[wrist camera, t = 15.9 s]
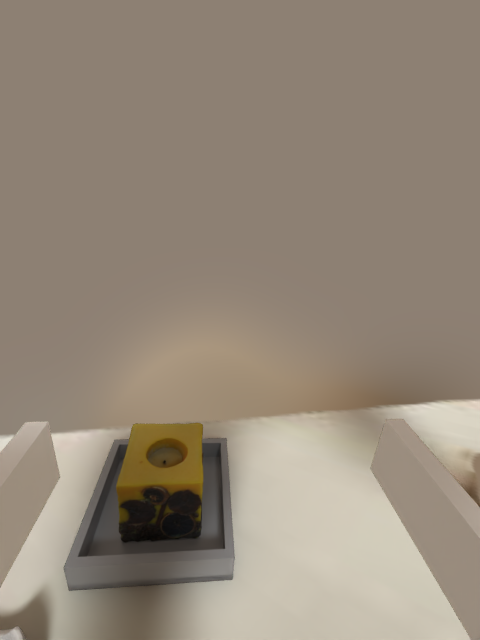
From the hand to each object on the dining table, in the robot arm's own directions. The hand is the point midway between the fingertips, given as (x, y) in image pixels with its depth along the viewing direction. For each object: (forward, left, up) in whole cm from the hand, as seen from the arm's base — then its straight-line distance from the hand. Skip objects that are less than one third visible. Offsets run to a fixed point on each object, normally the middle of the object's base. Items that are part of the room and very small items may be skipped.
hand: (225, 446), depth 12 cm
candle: (+6, -21, -31) cm, 38 cm away
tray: (+6, -21, -32) cm, 38 cm away
